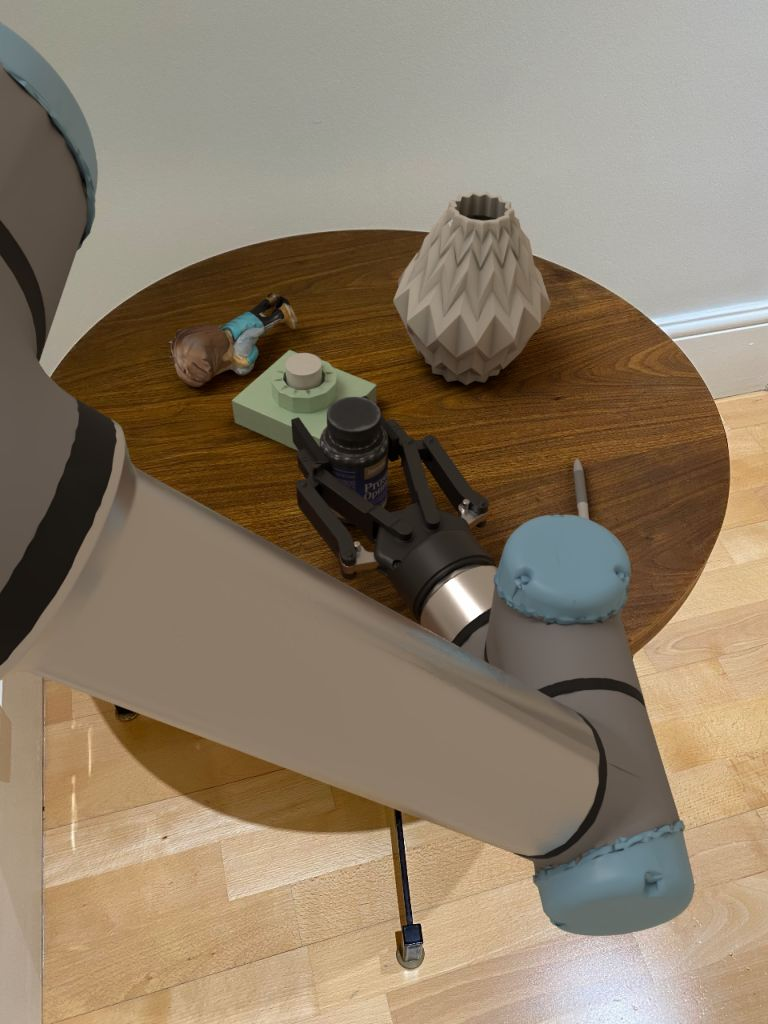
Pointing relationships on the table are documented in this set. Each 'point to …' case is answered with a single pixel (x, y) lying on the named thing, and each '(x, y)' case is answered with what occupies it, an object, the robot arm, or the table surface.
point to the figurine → (227, 342)
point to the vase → (472, 290)
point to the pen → (580, 490)
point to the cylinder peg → (303, 371)
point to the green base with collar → (294, 401)
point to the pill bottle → (357, 448)
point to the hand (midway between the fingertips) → (329, 418)
